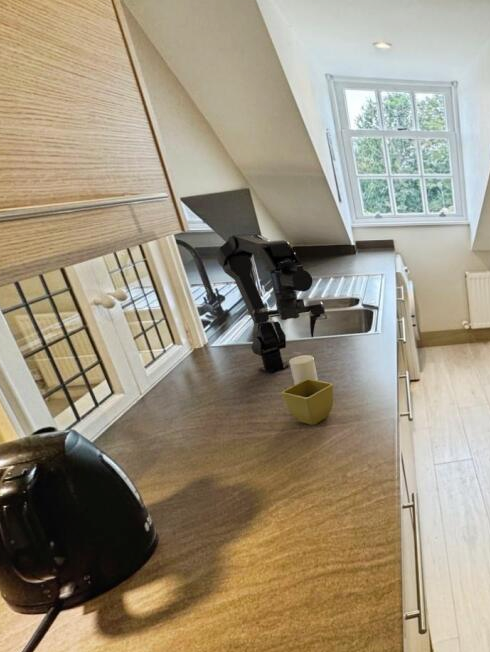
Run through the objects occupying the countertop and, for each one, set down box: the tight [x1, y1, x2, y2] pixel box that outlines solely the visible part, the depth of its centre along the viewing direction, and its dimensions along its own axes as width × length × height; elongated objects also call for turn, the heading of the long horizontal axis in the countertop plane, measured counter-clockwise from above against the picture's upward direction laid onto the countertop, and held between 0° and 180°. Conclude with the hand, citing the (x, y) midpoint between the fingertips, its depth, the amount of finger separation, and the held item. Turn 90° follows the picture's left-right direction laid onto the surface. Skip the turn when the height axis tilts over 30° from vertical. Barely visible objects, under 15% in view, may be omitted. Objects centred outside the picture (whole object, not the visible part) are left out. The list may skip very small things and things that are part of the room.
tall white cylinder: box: [288, 354, 319, 386], centre depth 121 cm, size 6×6×13 cm
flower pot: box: [281, 379, 334, 426], centre depth 113 cm, size 9×9×9 cm
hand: (295, 339), depth 133 cm, fingers open, 9 cm apart
